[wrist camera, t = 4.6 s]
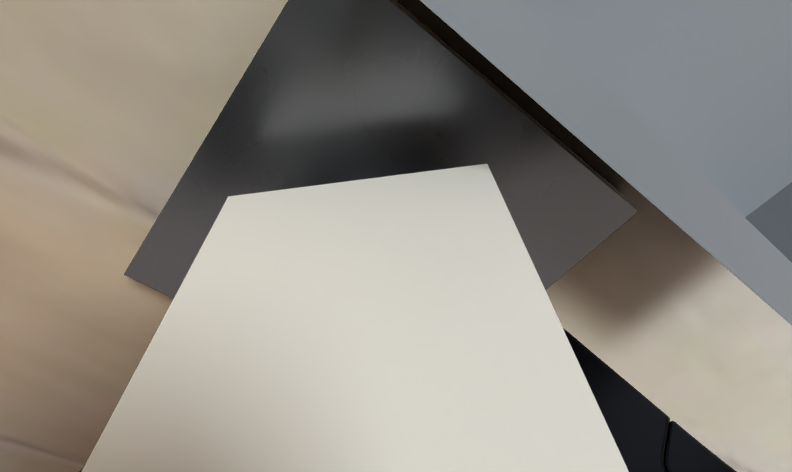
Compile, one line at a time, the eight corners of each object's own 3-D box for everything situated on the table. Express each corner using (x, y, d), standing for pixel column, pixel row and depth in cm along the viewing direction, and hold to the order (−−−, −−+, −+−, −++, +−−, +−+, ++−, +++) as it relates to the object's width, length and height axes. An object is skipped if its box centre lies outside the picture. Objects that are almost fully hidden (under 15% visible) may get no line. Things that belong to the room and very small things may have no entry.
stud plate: (403, 383, 16) (412, 540, 12) (139, 251, 13) (31, 404, 9) (620, 192, 13) (739, 324, 8) (327, -59, 9) (288, -42, 5)
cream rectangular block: (491, 349, 12) (603, 765, 6) (290, 372, 12) (210, 798, 6) (486, 163, 9) (682, 589, 3) (227, 196, 9) (-17, 655, 4)
